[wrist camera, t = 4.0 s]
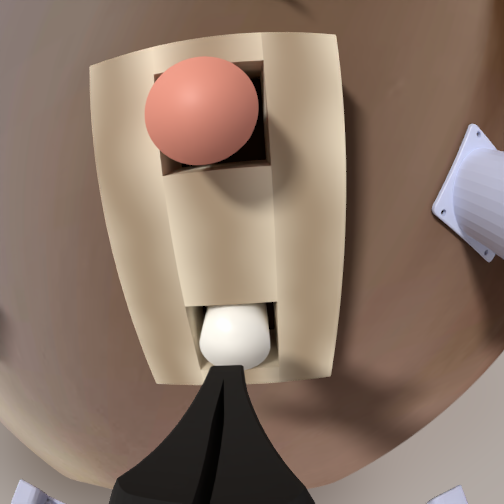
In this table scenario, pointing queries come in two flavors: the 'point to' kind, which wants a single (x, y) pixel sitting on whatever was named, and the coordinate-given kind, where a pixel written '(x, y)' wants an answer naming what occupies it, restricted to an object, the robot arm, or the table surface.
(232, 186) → the press housing
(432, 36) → the table surface
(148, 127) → the pink rounded plug
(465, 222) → the robot arm
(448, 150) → the table surface
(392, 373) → the table surface
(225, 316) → the ivory plunger
